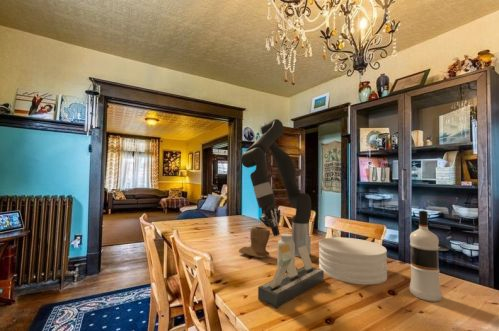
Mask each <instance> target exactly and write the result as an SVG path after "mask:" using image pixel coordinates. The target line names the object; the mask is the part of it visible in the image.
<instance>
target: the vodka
mask: <svg viewBox="0 0 499 331" xmlns="http://www.w3.org/2000/svg"><path fill="white" fill-rule="evenodd" d="M428 213H429V212H428V211H426V210H419V211H418V228H417V229H416V230H414V231H412V232H411V233H410V235H409V242H410V243H409V245H410V273H411V274H410V283H409V287H408V288H409V292H410V294H412V296H414V297H416V298H417V299H420V300H423V301H427V302H434V303H435V302H440V301H441V300H442V299H443V293H442V290H441V284H440V269H439V266H440V265H439V249H440V247H439V242H440V240H439V237H438V236H437V234H435V233H433V231H430V230H429V227H428V226H429V218H428V216H429V215H428Z"/></svg>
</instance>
